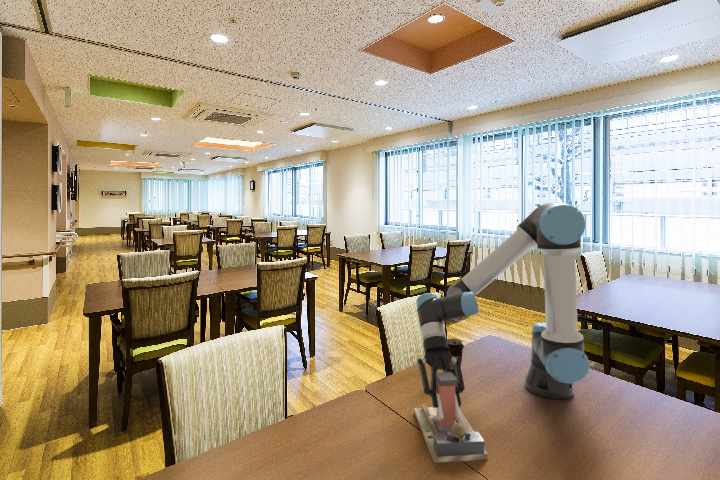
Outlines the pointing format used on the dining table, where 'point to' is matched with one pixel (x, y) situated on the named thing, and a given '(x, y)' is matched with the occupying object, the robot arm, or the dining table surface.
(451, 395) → the handle
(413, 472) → the dining table surface
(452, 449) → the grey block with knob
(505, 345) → the dining table surface
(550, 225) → the robot arm
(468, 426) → the cream base plate
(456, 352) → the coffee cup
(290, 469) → the dining table surface
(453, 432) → the brown ball
